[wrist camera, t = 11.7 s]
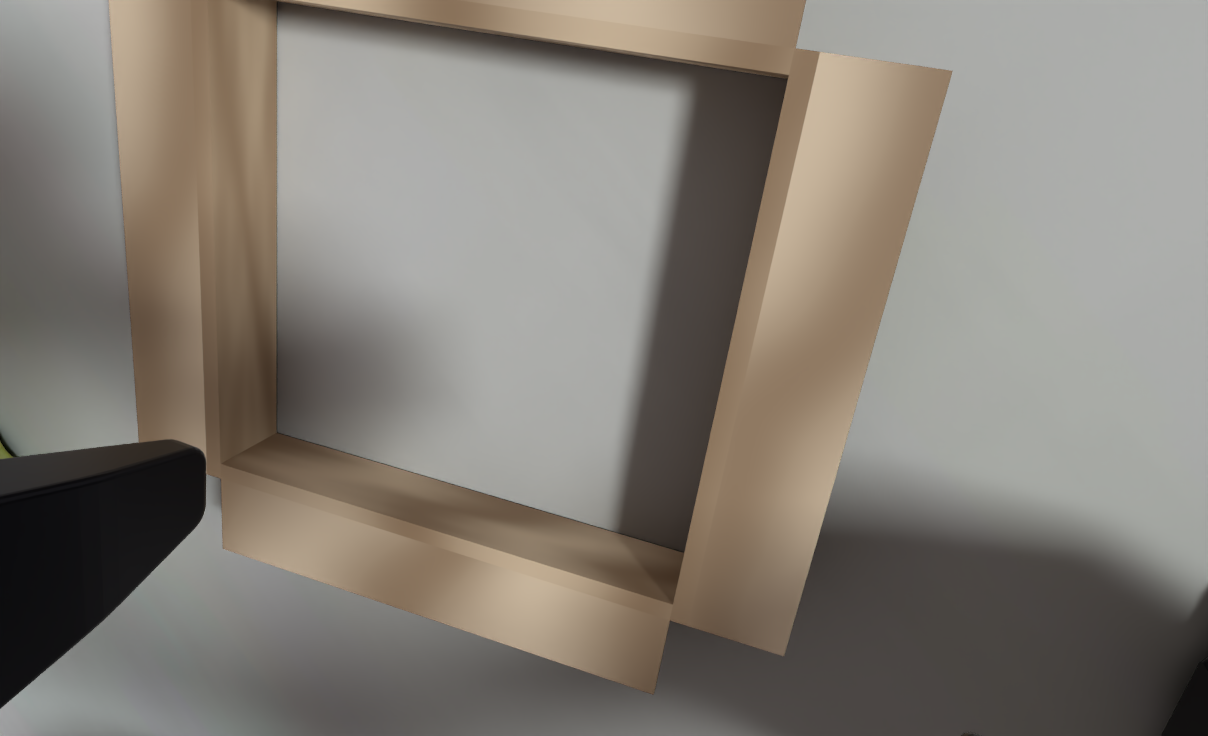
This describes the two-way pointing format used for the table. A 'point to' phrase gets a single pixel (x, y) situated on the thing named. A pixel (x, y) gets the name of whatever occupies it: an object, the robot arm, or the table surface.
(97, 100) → the table surface
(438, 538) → the wooden square frame
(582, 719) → the table surface
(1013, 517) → the table surface
